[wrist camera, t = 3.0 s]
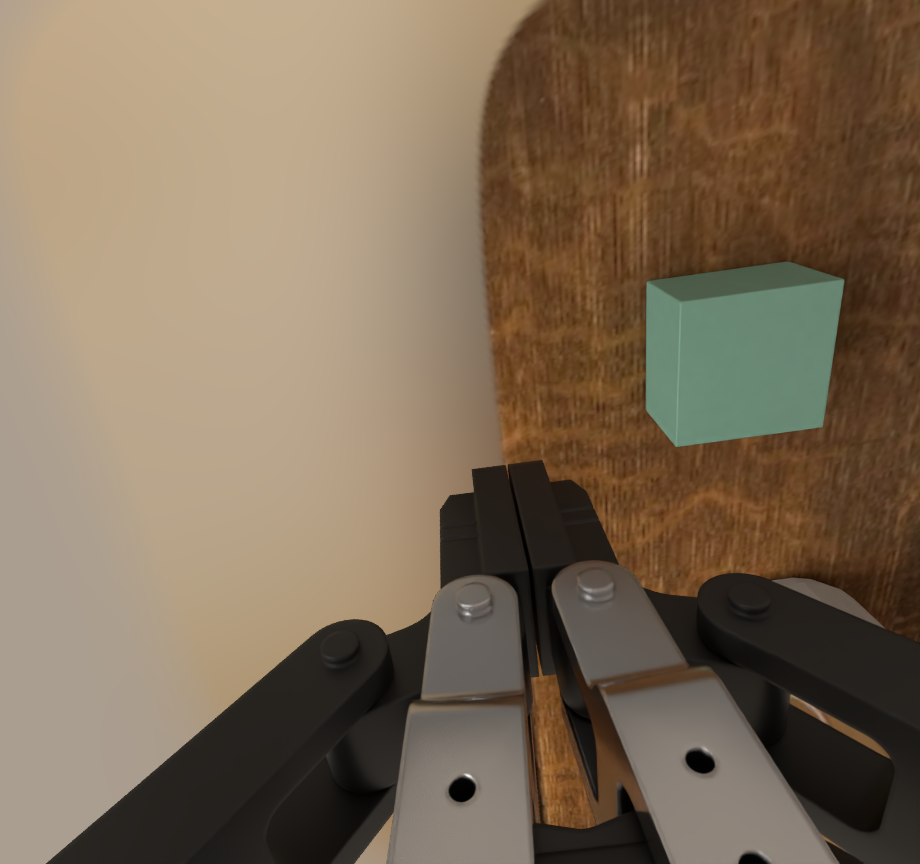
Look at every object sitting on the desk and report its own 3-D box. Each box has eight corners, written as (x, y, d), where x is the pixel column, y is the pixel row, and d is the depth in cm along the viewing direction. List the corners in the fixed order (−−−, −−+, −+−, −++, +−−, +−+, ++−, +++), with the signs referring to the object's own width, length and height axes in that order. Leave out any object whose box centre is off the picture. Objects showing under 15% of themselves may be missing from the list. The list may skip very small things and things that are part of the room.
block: (645, 280, 18) (680, 301, 16) (788, 260, 18) (845, 278, 16) (645, 410, 20) (675, 447, 18) (774, 392, 20) (823, 427, 18)
